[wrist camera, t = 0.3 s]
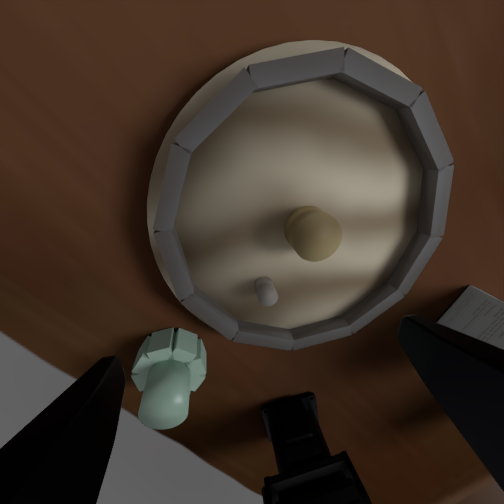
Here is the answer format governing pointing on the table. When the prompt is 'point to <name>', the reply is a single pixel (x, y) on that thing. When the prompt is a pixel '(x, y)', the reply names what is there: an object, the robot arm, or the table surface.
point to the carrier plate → (299, 194)
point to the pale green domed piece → (168, 376)
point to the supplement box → (477, 316)
